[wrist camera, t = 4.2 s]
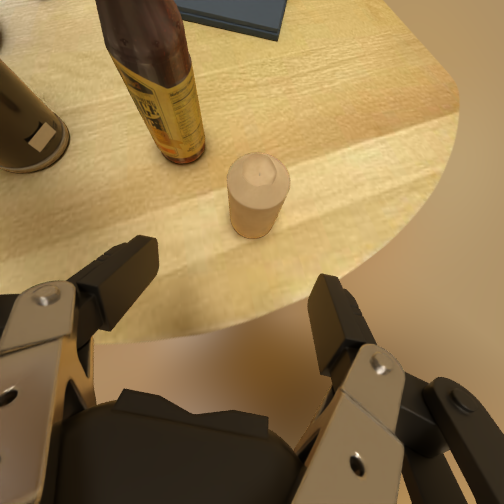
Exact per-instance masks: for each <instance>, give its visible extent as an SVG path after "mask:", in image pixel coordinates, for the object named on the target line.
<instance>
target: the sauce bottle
mask: <svg viewBox="0 0 504 504" xmlns="http://www.w3.org/2000/svg"><path fill="white" fill-rule="evenodd" d="M95 1H96V5H97V10H98V14H99V19H100V23H101V28H102V32H103V37H104V42H105V45H106V48H107V50H108V52H109V54H110V56H111V58H112V60H113V62H114V64H115V66H116V68H117V70H118V71H119V73H120V75H121V77H122V79H123V81H124V83H125V85H126V87H127V89H128V91H129V93H130V95H131V97H132V99H133V101H134V103H135V105H136V106H137V109H138V111H139V113H140V115H141V116H142V118H143V120H144V122H145V124H146V126H147V128H148V130H149V132H150V134H151V135H152V137H153V139H154V141H155V143H156V145H157V147H158V148H159V149H160V151H161V152H162V154H163V155H164V156H165V157H167V158H168V159H169V160H171V161H173V162H175V163H180V164H182V163H189V162H192V161H194V160H196V159H197V158H199V156H200V155H201V154H202V153H203V151H204V149H205V142H204V140H205V135H204V129H203V124H202V118H201V112H200V106H199V101H198V95H197V90H196V84H195V78H194V72H193V67H192V61H191V57H190V54H189V52H188V47H187V42H186V37H185V29H184V25H183V21H182V17H181V15H180V12H179V10H178V8H177V5H176V3H175V2H174V0H95Z"/></svg>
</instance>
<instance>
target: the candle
mask: <svg viewBox="0 0 504 504" xmlns="http://www.w3.org/2000/svg"><path fill="white" fill-rule="evenodd" d="M227 188H228V198H229V208H230V218H231V223H232V226H233V227H234V229H235V230H236V232H238V233H239V234H240V235H242V236H244V237H246V238H259V237H262V236H264V235H265V234H267V233H268V232H269V231H270V229H271V228H272V226H273V224H274V222H275V220H276V218H277V216H278V213H279V211H280V209H281V207H282V205H283V203H284V201H285V198H286V196H287V194H288V192H289V189H290V176H289V173H288V170H287V169H286V167H285V166H284V164H283V163H282V162H281V161H280V160H278V159H277V158H275V157H274V156H272V155H269V154H266V153H260V152H255V153H248V154H245V155H243V156H241V157H239V158H238V159H237V160H235V161H234V162H233V163H232V165H231V166H230V168H229V170H228V174H227Z"/></svg>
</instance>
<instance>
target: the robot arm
mask: <svg viewBox="0 0 504 504" xmlns="http://www.w3.org/2000/svg"><path fill="white" fill-rule="evenodd" d="M68 140H69V134H68V129H67V127H66V125H65V124H64V122H63V121H62V120H61V119H60V118H59V117H58V116H57V115H56V114H55V113H53V112H52V111H51V110H50V109H49V108H48V107H47V106H46V105H45V104H44V103H43V102H42V101H41V100H40V99H39V98H38V97H37V96H36V95H35V94H34V93H33V92H32V91H31V90H30V89H29V88H28V86H27V85H26V84H25V83H24V82H23V81H22V80H21V79H20V78H19V77H18V76H17V75H16V74H15V73H14V72H13V71H12V70H11V69H10V68H9V67H8V66H7V65H6V64H5V63H4V62H3V61H2V60H1V59H0V168H2V169H4V170H6V171H9V172H14V173H29V172H34V171H38V170H41V169H43V168H45V167H47V166H49V165H51V164H52V163H54V162H55V161H56V160H57V159H58V158H59V157H60V156H61V155H62V154H63V152H64V151H65V149H66V147H67V144H68ZM158 269H159V255H158V242H157V239H156V238H152V237H148V236H143V235H137V236H136V237H134V238H133V239H132V240H130V241H129V242H128V243H122V244H120V245H117V246H114V247H112V248H111V249H110V250H108V251H107V252H105V253H104V255H101V256H100V257H98V258H97V260H94V261H93V262H91V263H90V264H89V265H87V266H86V267H84V268H83V269H82V270H80V271H79V272H77V273H76V274H75V275H73V276H72V277H71V278H69V279H68V280H66V281H49V282H45V283H41V284H38V285H35V286H33V287H31V288H29V289H27V290H25V291H24V292H22V293H21V294H4V295H0V504H397V497H398V491H399V484H400V476H401V472H402V475H403V478H404V481H405V484H406V487H407V490H408V493H409V495H410V499H411V501H412V504H468V503H467V501H466V499H465V497H464V495H463V493H462V491H461V489H460V487H459V485H458V483H457V481H456V479H455V477H454V475H453V473H452V471H451V469H450V466H449V464H448V462H447V460H446V458H445V456H444V454H443V453H444V452H446V451H448V450H451V452H452V454H453V456H454V458H455V460H456V462H457V464H458V466H459V468H460V470H461V472H462V473H463V476H464V477H465V479H466V481H467V483H468V485H469V487H470V489H471V491H472V493H473V495H474V497H475V500H476V503H477V504H504V434H503V433H502V432H501V430H500V429H499V427H498V426H497V424H496V423H495V422H494V420H493V419H492V418H491V417H490V415H489V413H488V412H487V411H486V409H485V408H484V407H483V406H482V404H481V403H480V402H479V401H478V400H477V399H476V397H475V396H473V394H471V393H470V392H469V391H468V390H467V389H465V388H464V387H462V386H461V385H460V384H458V383H456V382H454V381H452V380H450V379H448V378H444V377H438V378H436V379H434V380H433V381H432V382H431V383H427V382H425V381H423V380H421V379H418V378H417V377H414V376H412V375H410V374H408V373H406V372H404V370H403V368H402V366H401V365H400V363H399V362H398V361H397V359H396V358H395V357H394V356H393V355H392V354H391V353H389V352H388V351H387V350H385V349H384V348H382V347H379V346H377V344H376V342H375V339H374V337H373V335H372V333H371V331H370V329H369V327H368V325H367V323H366V321H365V319H364V317H363V316H362V313H361V311H360V309H359V308H358V304H357V302H356V300H355V298H354V297H353V296H352V295H351V294H350V293H349V292H348V291H347V290H346V289H343V288H342V285H341V283H340V281H339V279H338V277H336V276H331V275H326V274H320V275H319V276H318V278H317V281H316V283H315V285H314V287H313V289H312V291H311V294H310V296H309V299H308V313H309V318H310V324H311V329H312V334H313V339H314V344H315V350H316V354H317V360H318V365H319V370H320V375H324V376H329V377H331V380H332V385H331V386H330V387H329V389H328V391H327V393H326V395H325V397H324V399H323V400H322V402H321V404H320V406H319V408H318V410H317V412H316V413H315V415H314V417H313V419H312V421H311V423H310V425H309V427H308V428H307V430H306V432H305V433H304V434H303V436H302V437H301V439H300V441H299V442H298V444H297V445H296V447H295V449H294V451H293V450H292V448H290V446H289V445H288V444H287V443H286V442H285V441H284V440H283V439H282V438H281V437H279V436H278V435H277V434H276V433H274V432H273V431H271V430H269V429H268V417H266V416H261V415H256V414H251V413H246V412H241V411H236V410H229V411H220V412H213V413H204V414H191V413H189V412H188V411H186V410H184V409H182V408H180V407H179V406H177V405H175V404H174V403H172V402H170V401H168V400H167V399H165V398H163V397H161V396H159V395H155V394H149V393H144V392H139V391H134V390H129V389H123V391H122V393H121V394H120V396H119V398H118V400H114V401H109V402H105V403H101V404H98V405H96V397H95V392H94V385H93V367H94V364H93V363H94V358H93V357H94V352H93V351H94V339H93V335H94V333H95V332H96V331H97V330H98V329H100V330H105V331H110V332H111V330H112V329H113V328H114V327H115V325H116V324H117V323H118V322H119V321H120V319H121V318H122V317H123V316H124V314H125V313H126V312H127V311H128V310H129V308H130V307H131V306H132V305H133V303H134V302H135V301H136V300H137V299H138V297H139V296H140V295H141V294H142V292H143V291H144V290H145V289H146V287H147V286H148V285H149V284H150V283H151V281H152V280H153V279H154V278H155V276H156V275H157V272H158Z"/></svg>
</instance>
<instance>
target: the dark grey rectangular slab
mask: <svg viewBox="0 0 504 504" xmlns="http://www.w3.org/2000/svg"><path fill="white" fill-rule="evenodd" d="M174 2H175V3H176V5H177V8H178V10H179V12H180V15H181V17H182V19H183V20H187V21H191V22H196V23H200V24H204V25H209V26H213V27H218V28H222V29H226V30H231V31H235V32H239V33H244V34H248V35H253V36H257V37H261V38H266V39H270V40H274V41H278V37H279V33H280V28H281V24H282V20H283V15H284V11H285V7H286V3H287V0H174Z"/></svg>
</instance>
